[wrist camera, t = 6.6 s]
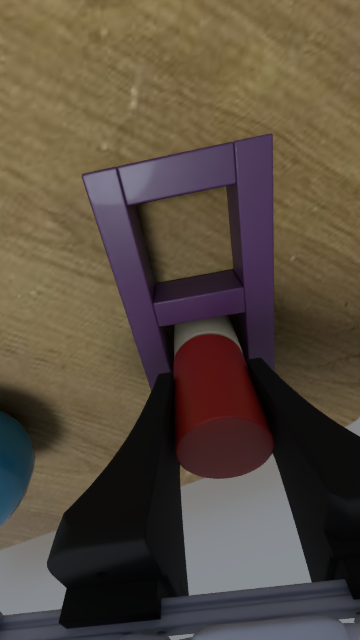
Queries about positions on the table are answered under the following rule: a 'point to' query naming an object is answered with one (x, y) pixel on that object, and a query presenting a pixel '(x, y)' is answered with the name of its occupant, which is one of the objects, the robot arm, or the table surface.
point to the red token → (217, 410)
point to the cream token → (203, 330)
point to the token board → (201, 291)
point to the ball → (14, 464)
